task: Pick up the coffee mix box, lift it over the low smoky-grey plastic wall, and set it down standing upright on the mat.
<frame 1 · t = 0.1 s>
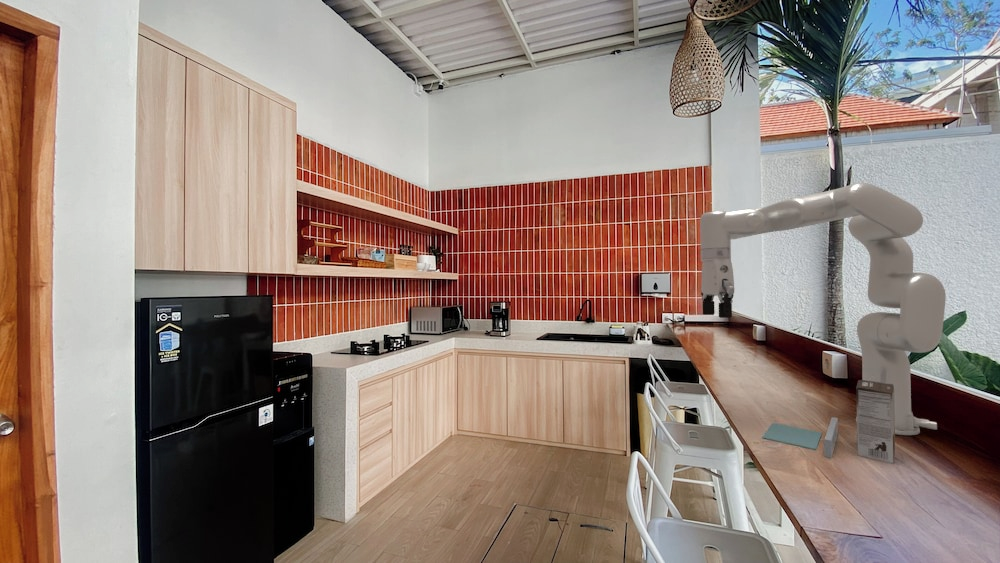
hand: (716, 316, 112), 31 cm above the counter, tool pointing down, fingers open, 9 cm apart
coffee box: (876, 454, 93), on the counter
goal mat: (792, 435, 104), on the counter
low wall: (831, 444, 99), on the counter
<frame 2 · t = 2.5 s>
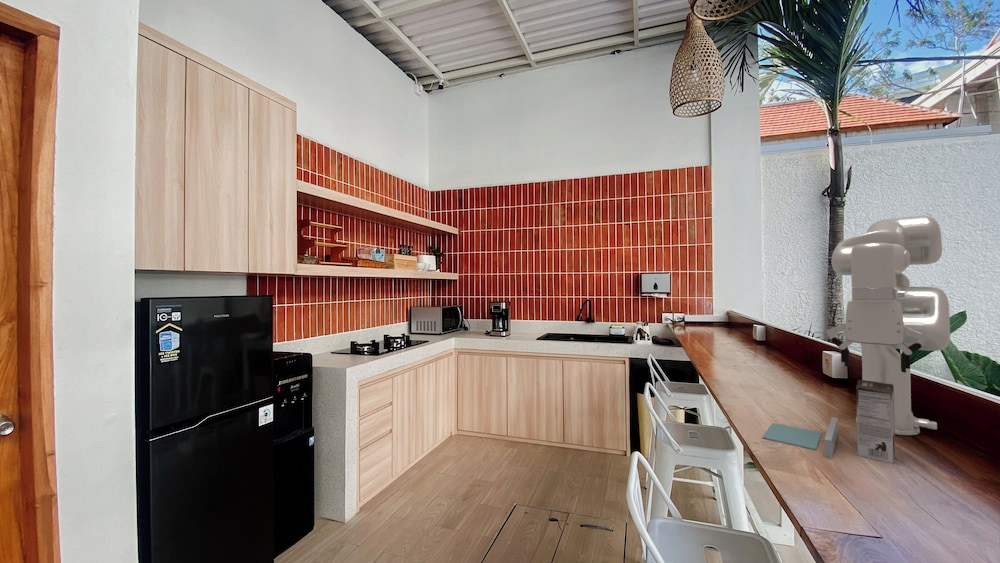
hand: (874, 368, 93), 20 cm above the counter, tool pointing down, fingers open, 9 cm apart
nothing on the counter moved.
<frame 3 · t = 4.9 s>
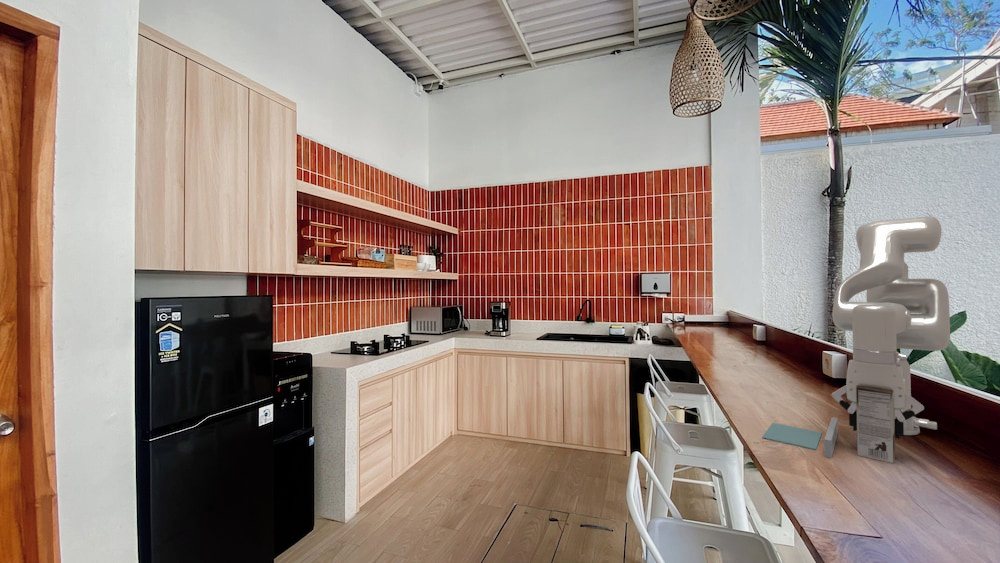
hand: (875, 432, 93), 5 cm above the counter, tool pointing down, fingers closed on coffee box, 6 cm apart
coffee box: (876, 454, 93), on the counter, touching gripper
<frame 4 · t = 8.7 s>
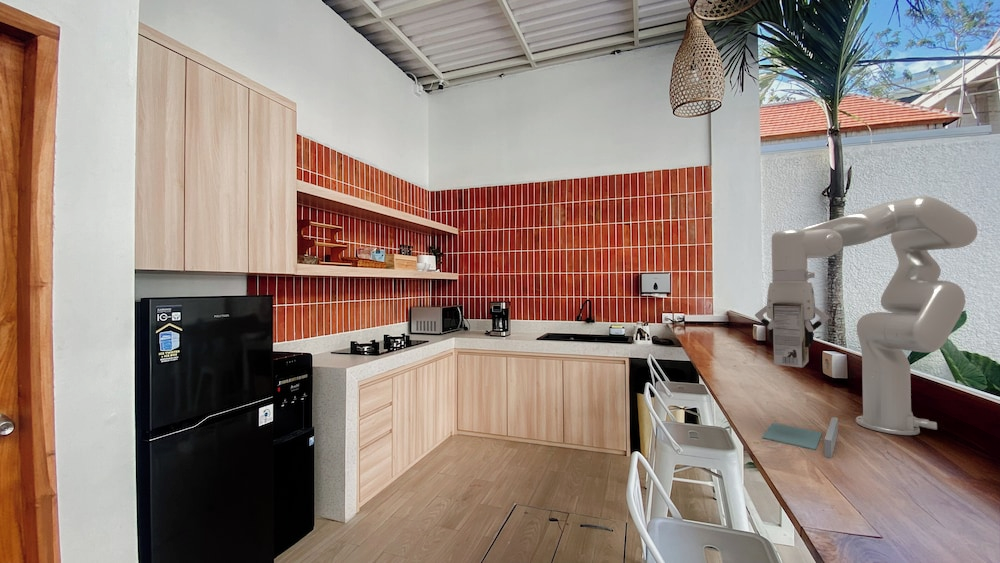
hand: (790, 344, 104), 24 cm above the counter, tool pointing down, fingers closed on coffee box, 6 cm apart
coffee box: (791, 364, 104), point 19 cm above the counter, touching gripper
when the fingers open (7 cm above the counter, at t = 12.7 s): coffee box drops 1 cm, resting on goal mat.
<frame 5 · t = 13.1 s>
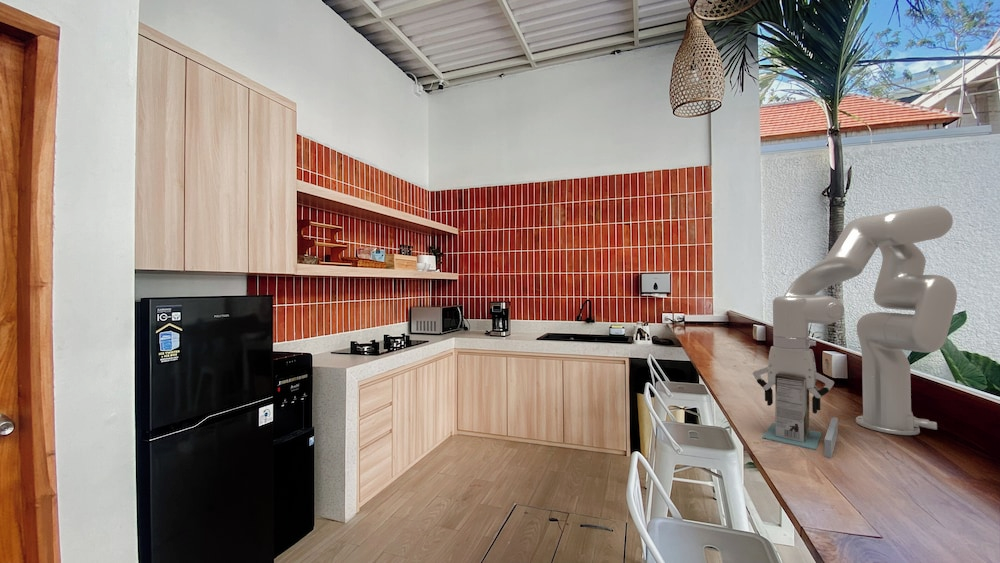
hand: (791, 408, 104), 7 cm above the counter, tool pointing down, fingers open, 9 cm apart
coffee box: (792, 435, 104), resting on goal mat
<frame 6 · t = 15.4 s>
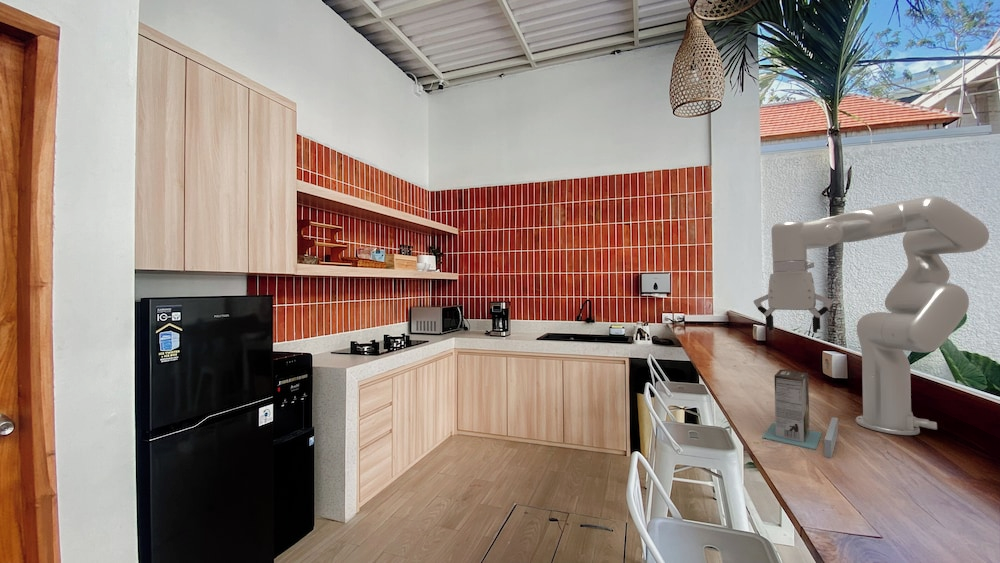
hand: (792, 331, 107), 27 cm above the counter, tool pointing down, fingers open, 9 cm apart
nothing on the counter moved.
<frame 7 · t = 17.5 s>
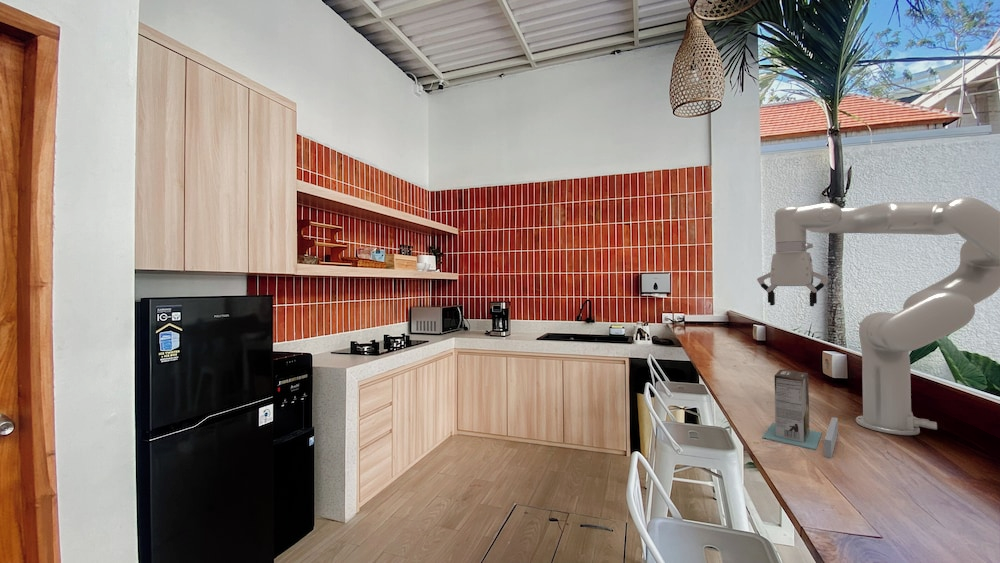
hand: (791, 305, 119), 33 cm above the counter, tool pointing down, fingers open, 9 cm apart
nothing on the counter moved.
at the end: coffee box inside the target area (0.1 cm from its centre), resting on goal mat; coffee box tilted 0°; the gripper is holding nothing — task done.
